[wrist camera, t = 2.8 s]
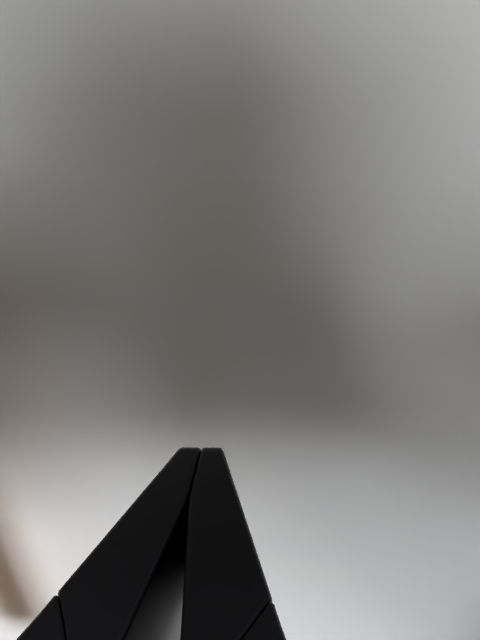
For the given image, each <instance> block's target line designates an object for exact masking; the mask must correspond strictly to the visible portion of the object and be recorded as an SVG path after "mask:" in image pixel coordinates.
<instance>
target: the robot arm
mask: <svg viewBox="0 0 480 640" xmlns="http://www.w3.org/2000/svg"><path fill="white" fill-rule="evenodd" d="M58 596H59V597H58ZM58 596H54V597H53V598H52V599H51V601H50V602H49V603H48V604H47V605H46V606H45V608H44V609H43V610H42V611H41V612H40V613H39V615H38V616H37V617H36V618H35V619H34V620H33V622H32V623H31V624H30V625H29V626H28V627H27V628H26V629H25V631H24V632H23V633H22V634H21V635H20V636H19V637H18V638H17V640H286V638H285V635H284V632H283V630H282V627H281V624H280V621H279V618H278V615H277V612H276V609H275V606H274V604H273V603H272V597H271V594H270V591H269V588H268V585H267V582H266V579H265V576H264V573H263V570H262V567H261V564H260V561H259V558H258V555H257V552H256V549H255V546H254V543H253V540H252V537H251V534H250V531H249V528H248V525H247V522H246V518H245V515H244V512H243V509H242V506H241V503H240V500H239V497H238V494H237V491H236V488H235V485H234V482H233V479H232V476H231V473H230V470H229V467H228V464H227V461H226V458H225V455H224V452H223V450H222V449H221V448H203V449H202V450H201V449H200V448H189V447H183V448H180V449H179V450H178V451H177V452H176V453H175V455H174V456H173V457H172V458H171V459H170V461H169V462H168V463H167V464H166V465H165V466H164V468H163V469H162V470H161V471H160V472H159V473H158V475H157V476H156V477H155V478H154V479H153V481H152V482H151V483H150V484H149V485H148V486H147V488H146V489H145V490H144V491H143V492H142V494H141V495H140V496H139V497H138V498H137V499H136V501H135V502H134V503H133V504H132V505H131V506H130V508H129V509H128V510H127V511H126V512H125V514H124V515H123V516H122V517H121V518H120V519H119V521H118V522H117V523H116V524H115V525H114V527H113V528H112V529H111V530H110V531H109V532H108V534H107V535H106V536H105V537H104V538H103V540H102V541H101V542H100V543H99V544H98V545H97V547H96V548H95V549H94V550H93V551H92V552H91V554H90V555H89V556H88V557H87V558H86V560H85V561H84V562H83V563H82V564H81V565H80V567H79V568H78V569H77V570H76V571H75V573H74V574H73V575H72V576H71V577H70V578H69V580H68V581H67V582H66V583H65V584H64V585H63V587H62V588H61V589H60V590H59V592H58Z"/></svg>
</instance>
